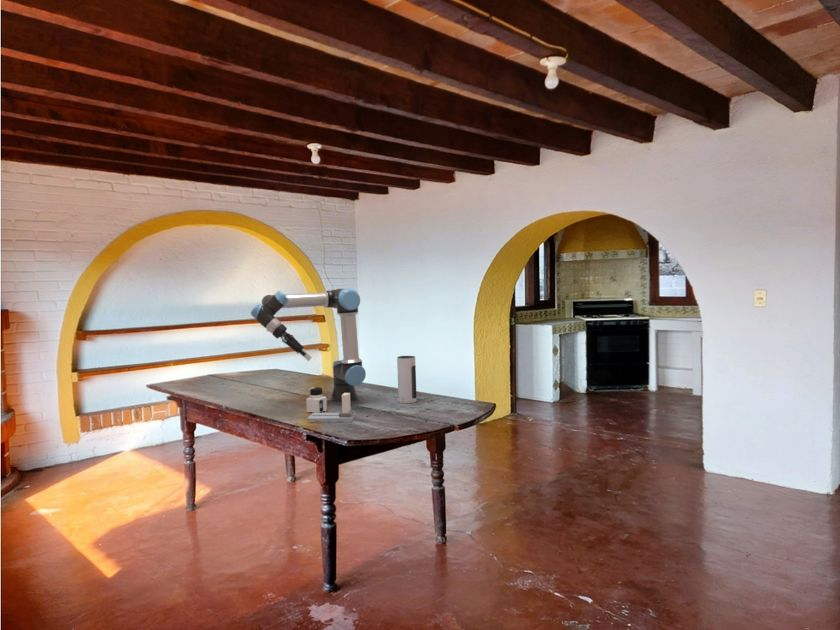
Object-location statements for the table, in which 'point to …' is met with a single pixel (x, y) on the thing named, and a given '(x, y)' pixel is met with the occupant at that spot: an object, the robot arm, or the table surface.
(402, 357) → the speaker
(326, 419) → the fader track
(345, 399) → the fader
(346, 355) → the robot arm
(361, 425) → the table surface
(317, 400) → the container
